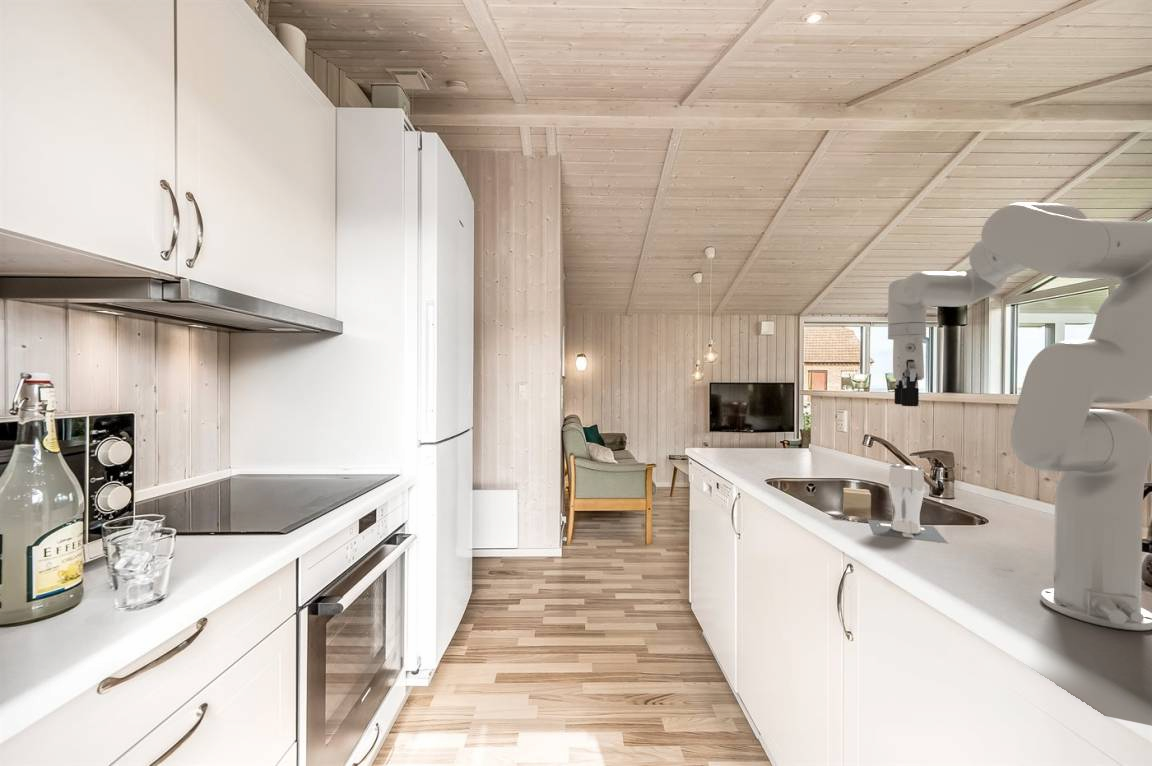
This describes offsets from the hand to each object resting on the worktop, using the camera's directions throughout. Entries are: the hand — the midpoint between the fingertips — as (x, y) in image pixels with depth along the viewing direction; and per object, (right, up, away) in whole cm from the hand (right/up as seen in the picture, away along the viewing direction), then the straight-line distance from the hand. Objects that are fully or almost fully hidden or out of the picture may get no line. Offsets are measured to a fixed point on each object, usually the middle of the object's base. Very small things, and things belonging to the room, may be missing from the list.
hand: (905, 405), depth 119 cm
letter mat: (0, -30, 0) cm, 30 cm away
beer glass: (0, -30, 0) cm, 30 cm away
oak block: (-3, -30, +15) cm, 34 cm away
